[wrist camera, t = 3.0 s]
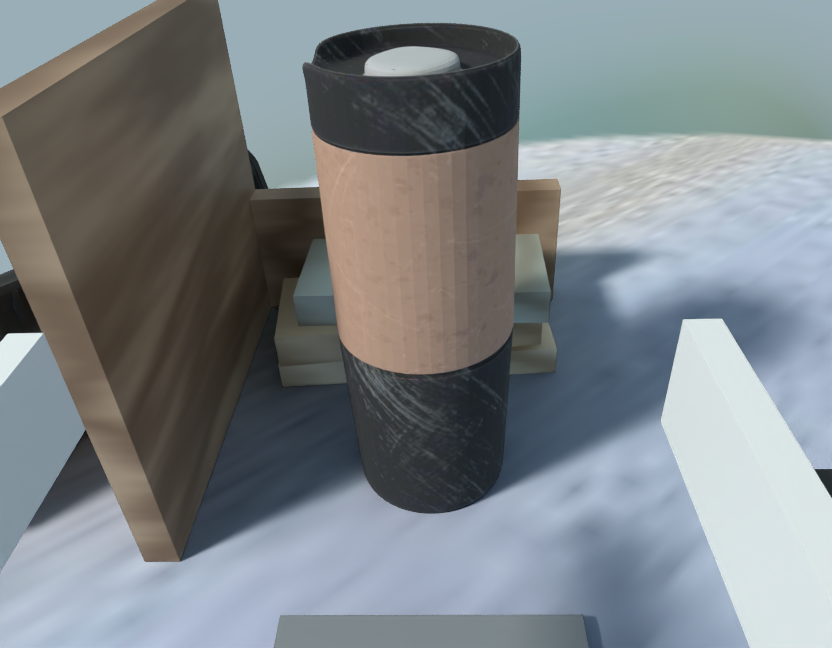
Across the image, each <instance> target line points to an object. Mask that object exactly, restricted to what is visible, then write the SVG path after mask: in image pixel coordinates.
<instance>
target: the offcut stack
mask: <svg viewBox="0 0 832 648" xmlns="http://www.w3.org/2000/svg"><path fill="white" fill-rule="evenodd" d="M550 297H551V290H550V286H549V281H548V276H547V272H546V267H545V262H544V258H543V253H542V248H541V243H540V239H539V234H516V251H515V286H514V320H513V336H512V349H511V362H510V374H529V373H548V372H555V367H556V356H557V347H556V344H555V340H554V337H553V334H552V331H551V328H550V325H549V310H550ZM274 340H275V345H276V350H277V354H278V359H279V361H278V367H279V372H280V377H281V382H282V386H283V387H284V386H303V385H322V384H341V383H347V380H346V374H345V369H344V363H343V358H342V352H341V347H340V341H339V333H338V329H337V321H336V313H335V306H334V298H333V290H332V282H331V275H330V267H329V259H328V251H327V244H326V239H313V241H312V244H311V246H310V249H309V252H308V255H307V258H306V261H305V263H304V266H303V269H302V272H301V275H300V277H297V278H285V279H284V280H283V286H282V292H281V299H280V305H279V311H278V318H277V324H276V330H275V337H274Z"/></svg>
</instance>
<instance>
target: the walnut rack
mask: <svg viewBox="0 0 832 648" xmlns="http://www.w3.org/2000/svg"><path fill="white" fill-rule="evenodd" d="M560 195H561V188H560V185H559V183H558V180H557V179H541V180H517V215H516V234H539V239H540V243H541V248H542V253H543V258H544V262H545V267H546V272H547V276H548V281H549V286H550V290H551V297H550V300H552V297H553V284H554V272H555V259H556V246H557V234H558V221H559V208H560ZM313 239H326V236H325V228H324V221H323V213H322V205H321V197H320V190H319V187H309V188H280V189H255V186H254V181H253V175H252V170H251V165H250V160H249V155H248V150H247V145H246V140H245V135H244V130H243V125H242V120H241V115H240V110H239V105H238V100H237V95H236V90H235V85H234V79H233V74H232V70H231V64H230V60H229V54H228V49H227V44H226V39H225V34H224V29H223V24H222V19H221V14H220V9H219V4H218V0H157V1H155V2H153V3H151V4H150V5H148V6H146V7H144V8H142V9H141V10H139V11H137V12H135V13H134V14H132V15H130V16H128V17H126V18H125V19H123V20H121V21H119V22H118V23H116V24H114V25H112V26H111V27H109V28H107V29H105V30H103V31H102V32H100V33H98V34H96V35H95V36H93V37H91V38H89V39H87V40H86V41H84V42H82V43H80V44H78V45H77V46H75V47H73V48H71V49H70V50H68V51H66V52H64V53H63V54H61V55H59V56H57V57H55V58H54V59H52V60H50V61H48V62H47V63H45V64H43V65H41V66H39V67H38V68H36V69H34V70H32V71H30V72H29V73H27V74H25V75H23V76H22V77H20V78H18V79H17V80H15V81H13V82H11V83H9V84H7V85H6V86H4V87H2V88H0V240H1V242H2V244H3V246H4V248H5V251H6V253H7V255H8V258H9V260H10V262H11V264H12V266H13V269H14V271H15V273H16V275H17V278H18V280H19V282H20V284H21V287H22V289H23V291H24V293H25V295H26V298H27V300H28V302H29V304H30V307H31V309H32V311H33V313H34V316H35V318H36V320H37V322H38V324H39V327H40V329H41V331H42V333H44V335H45V337H46V339H47V342H48V344H49V346H50V349H51V351H52V353H53V356H54V358H55V360H56V362H57V365H58V367H59V369H60V372H61V374H62V376H63V379H64V381H65V383H66V386H67V388H68V390H69V393H70V395H71V397H72V399H73V402H74V404H75V406H76V409H77V411H78V413H79V416H80V418H81V420H82V423H83V425H84V427H85V429H86V431H87V434H88V436H89V438H90V440H91V443H92V445H93V447H94V449H95V452H96V454H97V456H98V458H99V460H100V463H101V465H102V467H103V469H104V472H105V474H106V476H107V478H108V480H109V483H110V485H111V487H112V489H113V492H114V494H115V496H116V498H117V501H118V503H119V505H120V507H121V509H122V512H123V514H124V516H125V518H126V521H127V523H128V525H129V527H130V530H131V532H132V534H133V536H134V538H135V541H136V543H137V545H138V547H139V550H140V552H141V554H142V556H143V559H144V561H145V562H148V561H180V560H181V557H182V554H183V551H184V549H185V546H186V543H187V540H188V538H189V535H190V532H191V529H192V526H193V524H194V521H195V518H196V515H197V513H198V510H199V507H200V504H201V501H202V499H203V496H204V493H205V490H206V488H207V485H208V482H209V479H210V476H211V474H212V471H213V468H214V465H215V463H216V460H217V457H218V454H219V451H220V449H221V446H222V443H223V440H224V438H225V435H226V432H227V429H228V426H229V424H230V421H231V418H232V415H233V413H234V410H235V407H236V404H237V401H238V399H239V396H240V393H241V390H242V387H243V385H244V382H245V379H246V376H247V374H248V371H249V368H250V365H251V362H252V360H253V357H254V354H255V351H256V349H257V346H258V343H259V340H260V337H261V335H262V332H263V329H264V326H265V324H266V321H267V318H268V315H269V312H270V310H271V307H279V305H280V299H281V292H282V286H283V280H284V279H285V278H297V277H300V275H301V272H302V269H303V266H304V263H305V261H306V258H307V255H308V252H309V249H310V246H311V244H312V241H313Z"/></svg>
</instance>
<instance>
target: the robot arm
mask: <svg viewBox="0 0 832 648" xmlns="http://www.w3.org/2000/svg"><path fill="white" fill-rule="evenodd" d="M661 423H662V426H663V428H664V431H665V433H666V436H667V438H668V441H669V444H670V446H671V449H672V451H673V454H674V456H675V459H676V461H677V464H678V466H679V469H680V471H681V474H682V476H683V479H684V482H685V484H686V487H687V489H688V492H689V494H690V497H691V499H692V502H693V504H694V507H695V509H696V512H697V514H698V517H699V520H700V522H701V525H702V527H703V530H704V532H705V535H706V537H707V540H708V542H709V545H710V547H711V550H712V552H713V555H714V558H715V560H716V563H717V565H718V568H719V570H720V573H721V575H722V578H723V580H724V583H725V585H726V588H727V590H728V593H729V596H730V598H731V601H732V603H733V606H734V608H735V611H736V613H737V616H738V618H739V621H740V623H741V626H742V628H743V631H744V634H745V636H746V639H747V641H748V644H749V646H750V648H832V469H814V468H813V467H812V465H811V464H810V462H809V460H808V459H807V457H806V455H805V454H804V452H803V450H802V449H801V447H800V446H799V444H798V442H797V441H796V439H795V437H794V436H793V434H792V432H791V431H790V429H789V427H788V426H787V424H786V423H785V421H784V419H783V418H782V416H781V414H780V413H779V411H778V409H777V408H776V406H775V405H774V403H773V401H772V400H771V398H770V396H769V395H768V393H767V391H766V390H765V388H764V387H763V385H762V383H761V382H760V380H759V378H758V377H757V375H756V373H755V372H754V370H753V369H752V367H751V365H750V364H749V362H748V360H747V359H746V357H745V355H744V354H743V352H742V351H741V349H740V347H739V346H738V344H737V342H736V341H735V339H734V337H733V336H732V334H731V333H730V331H729V329H728V328H727V326H726V324H725V323H724V321H723V319H683V322H682V327H681V331H680V336H679V340H678V345H677V349H676V354H675V358H674V363H673V367H672V372H671V376H670V381H669V385H668V390H667V394H666V399H665V404H664V408H663V413H662V417H661ZM85 430H86V429H85V427H84V425H83V423H82V420H81V418H80V416H79V413H78V411H77V409H76V406H75V404H74V402H73V399H72V397H71V395H70V393H69V390H68V388H67V386H66V383H65V381H64V379H63V376H62V374H61V372H60V369H59V367H58V365H57V362H56V360H55V358H54V356H53V353H52V351H51V349H50V346H49V344H48V342H47V339H46V337H45V335H44V333H12V334H7V335H6V336H5V337H4V339H3V340H2V341H1V342H0V572H1V570H2V569H3V567H4V565H5V563H6V562H7V560H8V558H9V557H10V555H11V553H12V552H13V550H14V548H15V547H16V545H17V543H18V542H19V540H20V538H21V537H22V535H23V533H24V532H25V530H26V528H27V527H28V525H29V523H30V522H31V520H32V518H33V517H34V515H35V513H36V512H37V510H38V508H39V507H40V505H41V503H42V502H43V500H44V498H45V497H46V495H47V493H48V492H49V490H50V488H51V487H52V485H53V483H54V482H55V480H56V478H57V477H58V475H59V473H60V472H61V470H62V468H63V467H64V465H65V463H66V462H67V460H68V458H69V457H70V455H71V453H72V452H73V450H74V448H75V447H76V445H77V443H78V441H79V440H80V438H81V436H82V435H83V433H84V431H85Z"/></svg>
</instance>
